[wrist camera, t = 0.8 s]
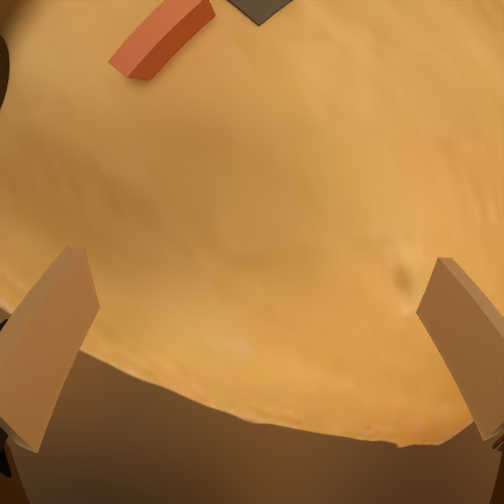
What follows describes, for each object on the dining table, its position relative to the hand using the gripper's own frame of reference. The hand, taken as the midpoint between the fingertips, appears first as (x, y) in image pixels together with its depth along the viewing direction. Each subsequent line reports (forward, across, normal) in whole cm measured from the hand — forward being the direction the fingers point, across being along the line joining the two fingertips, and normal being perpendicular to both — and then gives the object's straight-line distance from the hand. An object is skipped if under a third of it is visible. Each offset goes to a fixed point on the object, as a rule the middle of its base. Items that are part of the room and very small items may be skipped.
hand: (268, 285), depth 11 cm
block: (+22, -8, +12) cm, 26 cm away
